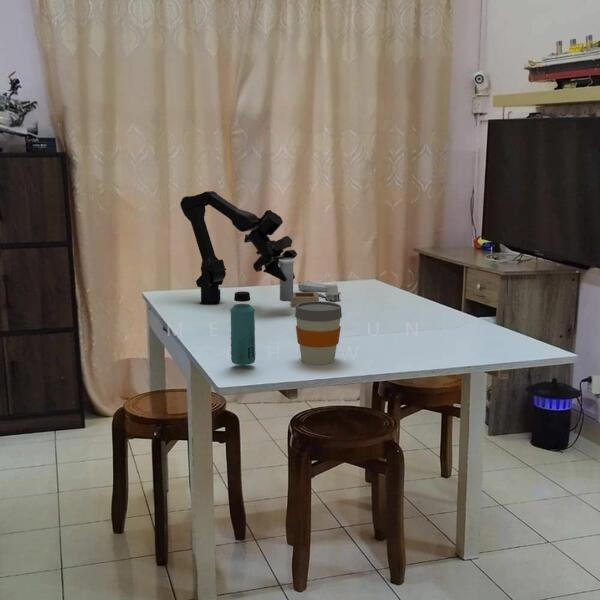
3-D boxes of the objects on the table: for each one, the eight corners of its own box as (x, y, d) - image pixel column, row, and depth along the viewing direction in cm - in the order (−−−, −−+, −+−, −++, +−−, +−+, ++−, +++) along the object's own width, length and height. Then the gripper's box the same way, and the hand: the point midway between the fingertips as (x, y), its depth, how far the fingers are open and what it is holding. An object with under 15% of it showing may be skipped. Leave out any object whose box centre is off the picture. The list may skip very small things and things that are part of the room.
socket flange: (291, 307, 281) (291, 297, 280) (290, 301, 291) (290, 292, 290) (319, 307, 281) (319, 297, 280) (317, 301, 291) (317, 292, 290)
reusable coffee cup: (296, 367, 209) (296, 311, 206) (292, 354, 221) (293, 301, 218) (344, 366, 210) (345, 310, 207) (337, 353, 222) (338, 300, 219)
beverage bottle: (249, 371, 204) (248, 295, 200) (226, 368, 207) (225, 293, 203) (259, 365, 210) (259, 290, 206) (237, 362, 213) (236, 288, 209)
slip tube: (278, 301, 266) (278, 260, 263) (278, 298, 271) (278, 257, 268) (294, 301, 266) (294, 260, 264) (293, 298, 272) (294, 257, 269)
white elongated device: (307, 280, 314) (342, 281, 292) (309, 297, 314) (343, 299, 292) (296, 281, 311) (330, 282, 289) (297, 298, 312) (331, 301, 290)
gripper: (260, 231, 259) (288, 268, 255) (292, 226, 274) (319, 261, 270) (241, 253, 264) (268, 289, 261) (274, 246, 280) (300, 281, 276)
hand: (289, 279), depth 267 cm, fingers closed on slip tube, 4 cm apart
